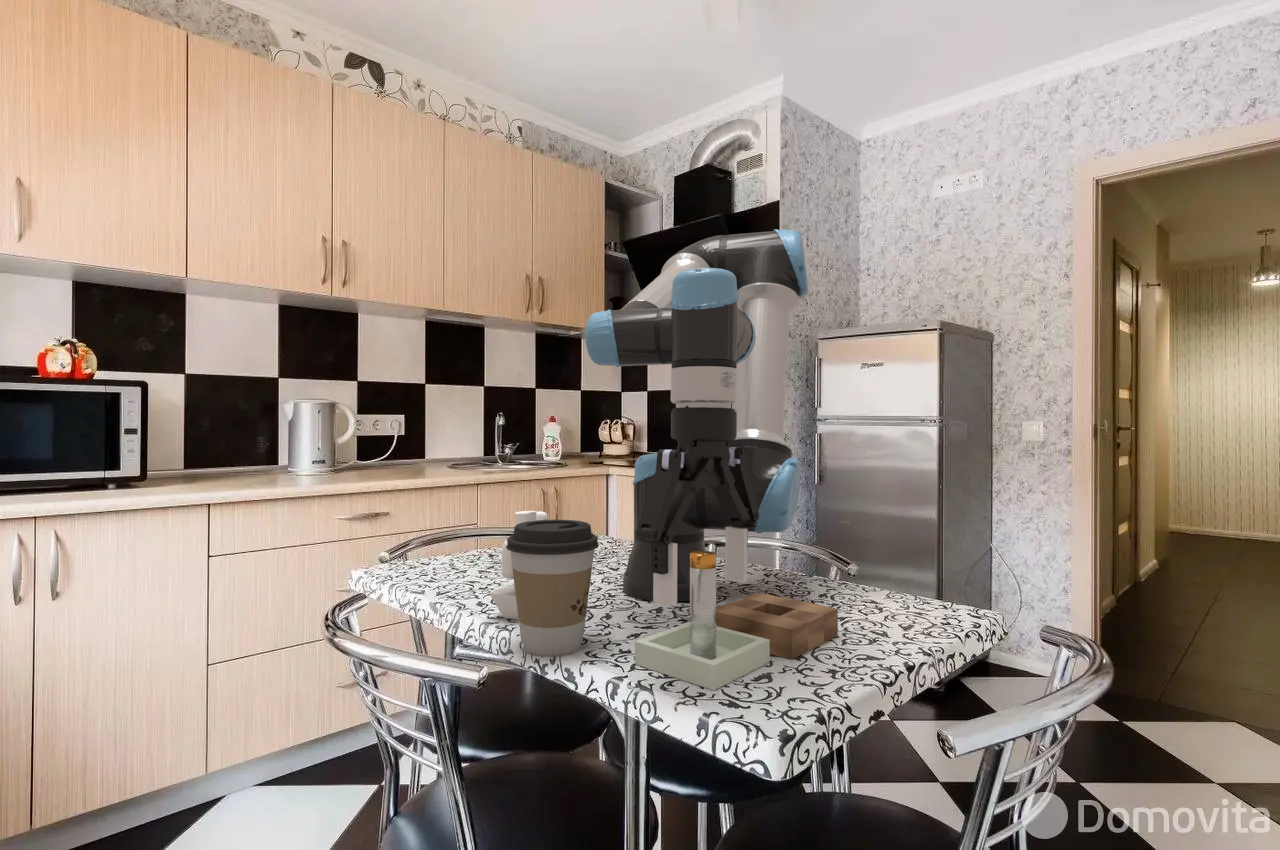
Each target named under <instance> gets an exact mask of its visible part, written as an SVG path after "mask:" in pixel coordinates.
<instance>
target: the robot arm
mask: <svg viewBox="0 0 1280 850" xmlns="http://www.w3.org/2000/svg"><path fill="white" fill-rule="evenodd" d="M802 238H803V237H802V235H801V234H800V232H799V231H797V230H795V229H778V228H776V229H775V228H774V229H773V231H759V232H748V233H747V232H746V233H737V234H736V233H734V234H726V235H724V234H721V235H713V236H711V237H710V236H709V237H707V238H704V239H701V240H698V241H696V242H694V243H692V244H690V245H688V246H686V247H684V248H683V249H681V250H679V251H678V252H676V253H675V254H673V255H672V256H671V257H670V258H669V259H668V260H667V261H666V262H665V263H664V265H663V266H662V268H661V270H660V271H661V272H660V274H659V275H657V277H656V278H654V279H653V281H651V282H650V283H648V285H647V286H646V287H645V288H643V289H642V290H641V291H640V292H639V293H638V294H636V295H635V296H634V297H633V298H632V299H631V300H630V301H628V302H627V304H625V305H624V306H623V307H622V308H620V309H617V310H616V309H615V310H613V309H607V310H603V311H596V312H594V313H592V314H591V315H590V316H589V318H588V320H587V322H586V325H585V330H584V331H585V335H584V336H585V338H584V339H585V345H586V351H587V353H588V356H589V358H590V360H591V361H592V362H593V363H594V364H596V365H598V366H608V367H609V366H611V367H613V366H614V367H616V368H619V367H633V366H656V365H658V366H659V365H671V369H670V402H671V403H672V404H675V408H672V411H670V437H671V439H672V440H673V441H676V442H677V449H659V450H658V451H657V453H649V454H643V455H641V456H639V457H638V458H637V459H636V460H635V464H634V477H633V481H632V485H633V545H632V547H631V552H630V554H629V556H628V557H629V558H628V561H627V564H626V565H627V566H626V570H625V572H623V576H622V579H623V580H622V590H623V593H624V594H627V596H631V597H633V598H637V599H640V600H647V601H653V603H657V604H663V605H666V606H671V607H674V606H677V605H678V602H690V552H694V551H707V549H706V547H705V530H715V531H717V530H719V531H721V530H722V531H724V532H725V538H724V539H725V542H724V543H725V544H724V545H725V548H724V550H725V552H724V553H725V557H724V558H725V560H724V561H725V563H724V565H725V567H724V568H725V569H724V571H725V573H724V575H725V577H724V580H725V581H730V582H733V583H734V582H735V583H741V584H746V583H748V550H749V544H748V543H749V541H748V540H749V532H752V533H755V534H756V533H757V534H763V533H782V532H785V531H786V530H788V529H789V528H790V527H791V525H792V523H793V520H794V518H795V514H796V510H797V507H798V502H799V496H800V489H801V487H800V486H801V476H802V465H801V462H800V460H799V459H798V458H795V457H792V456H793V449H792V447H791V446H790V445H789V444H788V443H787V442H786V441H785V439H784V422H785V421H784V420H785V404H786V403H785V402H786V383H787V367H788V366H787V364H788V363H787V362H788V343H789V327H790V326H789V323H790V314H791V313H792V312H794V311H795V310H797V308H798V307H799V303H800V298H801V297H802V298H803V297H804V296H807V295H808V294H809V284H808V283H809V282H808V276H807V274H808V273H807V268H806V260H805V253H804V244H803V239H802Z"/></svg>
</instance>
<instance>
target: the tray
mask: <svg viewBox="0 0 1280 850" xmlns="http://www.w3.org/2000/svg"><path fill="white" fill-rule="evenodd" d="M770 655H771V654H770V640H769V639H765V638H761V637H757V636H753V635H749V634H745V633H741V632H737V631H733V630H730V629H726V628H722V627H718V626H716V659H714V660H709V659H705V658H702V657H699V656H695V655H692V654H690V621H687V622H686V623H683V624H680V625H677V626H674V627H671V628H669V629H666V630H663V631H660V632H657V633H655V634H651V635H649V636H646V637H644V638H640V639H638V640H635V641H634V665H636V666H639V667H642V668H646V669H649V670H651V671H654V672H657V673H660V674H662V675H663V674H664V675H665V676H666V675H667V676H670V677H672V678H675V679H678V680H681V681H684V682H688V683H691V684H693V685H695V686H699V687H702V688H706V689H708V690H711V691H715V690H718V689H720V688H722V687H724V686H726V685H727V684H730V683H731V682H733V681H735V680H738V679H739V678H741V677H744V676H745V675H748V674H749V673H751V672H754V671H755V670H757V669H759V668H761V667H763V666H765V665H767V664H769V663H771V661H770V659H771V657H770Z"/></svg>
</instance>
